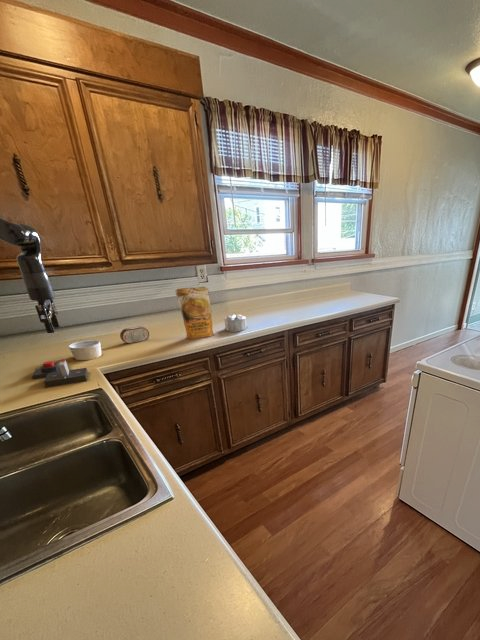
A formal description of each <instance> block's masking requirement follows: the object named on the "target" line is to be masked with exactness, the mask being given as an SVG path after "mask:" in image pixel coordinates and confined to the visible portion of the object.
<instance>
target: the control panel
mask: <svg viewBox="0 0 480 640" xmlns="http://www.w3.org/2000/svg"><path fill="white" fill-rule="evenodd" d="M88 377H89V370H88V368H87V367H80V368H73V369H69V375H68V376H65V377H63V376H62V373H61V371H60V372H53V373H48V374H47V376H46V378H44V381H43V383H44V385H45V389H46V388H53V387H59V386H65V385H71V384H78V383H83V382H87V381H88Z"/></svg>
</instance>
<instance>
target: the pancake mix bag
mask: <svg viewBox="0 0 480 640" xmlns="http://www.w3.org/2000/svg"><path fill="white" fill-rule="evenodd" d="M175 295H176V300H177V302H178V306H179V311H180V313H181V316H182V319H183V324H184V327H185V331H186V337H185V339H190V340H192V339H199V338H210V337H212V336H215V334H214V330H213V329H214V327H213V314H212V303H211V297H210V292H209V288H207V287H206V286H197V287H182V288H176V289H175Z"/></svg>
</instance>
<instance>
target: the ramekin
mask: <svg viewBox="0 0 480 640" xmlns="http://www.w3.org/2000/svg"><path fill="white" fill-rule="evenodd" d="M101 345H102V344H101V341H100V340H95V339H91V340H88V339H87V340H81V341H77V342H73V343H71V344H70V345H69V346H68V349H69V350H70V353H71V354H72V356H73V357H74V359H75V360H77V361H89V360H95V359H97V358H99V357H101V356H102V347H101Z"/></svg>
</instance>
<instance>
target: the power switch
mask: <svg viewBox="0 0 480 640" xmlns="http://www.w3.org/2000/svg"><path fill="white" fill-rule="evenodd" d="M53 363H54V366H52V367H47V368H46V367H44V365H43V364H42V365H41V366H39V367H38V368H35V370H34V371H33V373H32V375H31V377H32V380H39V379H45V378H46V376H47V374H48V373H53V372H60V371H61V370H60V367H59V364H60V363H57V362H53ZM67 366H68V369H69V370H70V366H69V364H68V363H67Z"/></svg>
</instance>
